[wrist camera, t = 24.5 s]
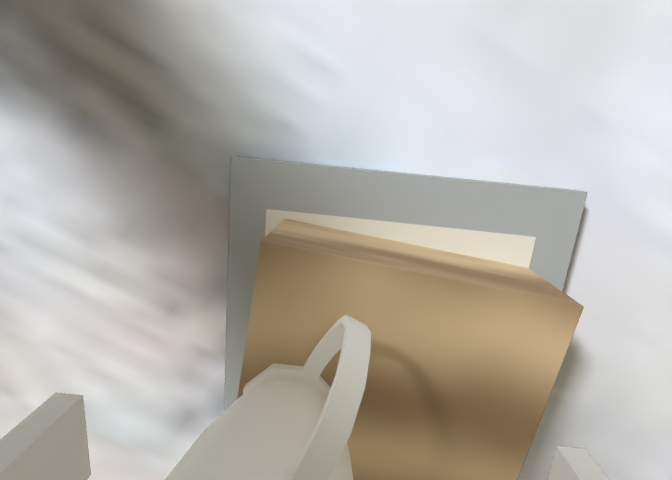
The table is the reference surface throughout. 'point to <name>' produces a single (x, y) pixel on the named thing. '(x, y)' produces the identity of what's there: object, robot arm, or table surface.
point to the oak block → (417, 347)
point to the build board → (390, 223)
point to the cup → (289, 418)
